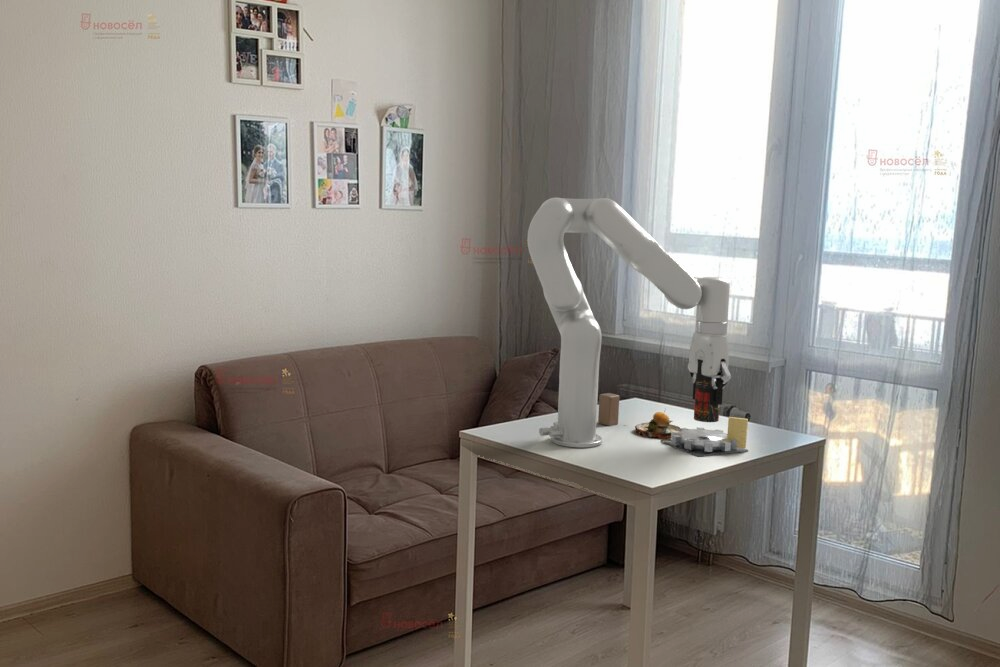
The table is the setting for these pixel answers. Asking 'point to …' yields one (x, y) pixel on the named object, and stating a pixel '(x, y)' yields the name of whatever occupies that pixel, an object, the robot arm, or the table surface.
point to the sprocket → (713, 437)
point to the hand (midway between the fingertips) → (707, 401)
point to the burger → (657, 427)
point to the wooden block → (608, 409)
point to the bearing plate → (701, 452)
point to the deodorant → (704, 398)
